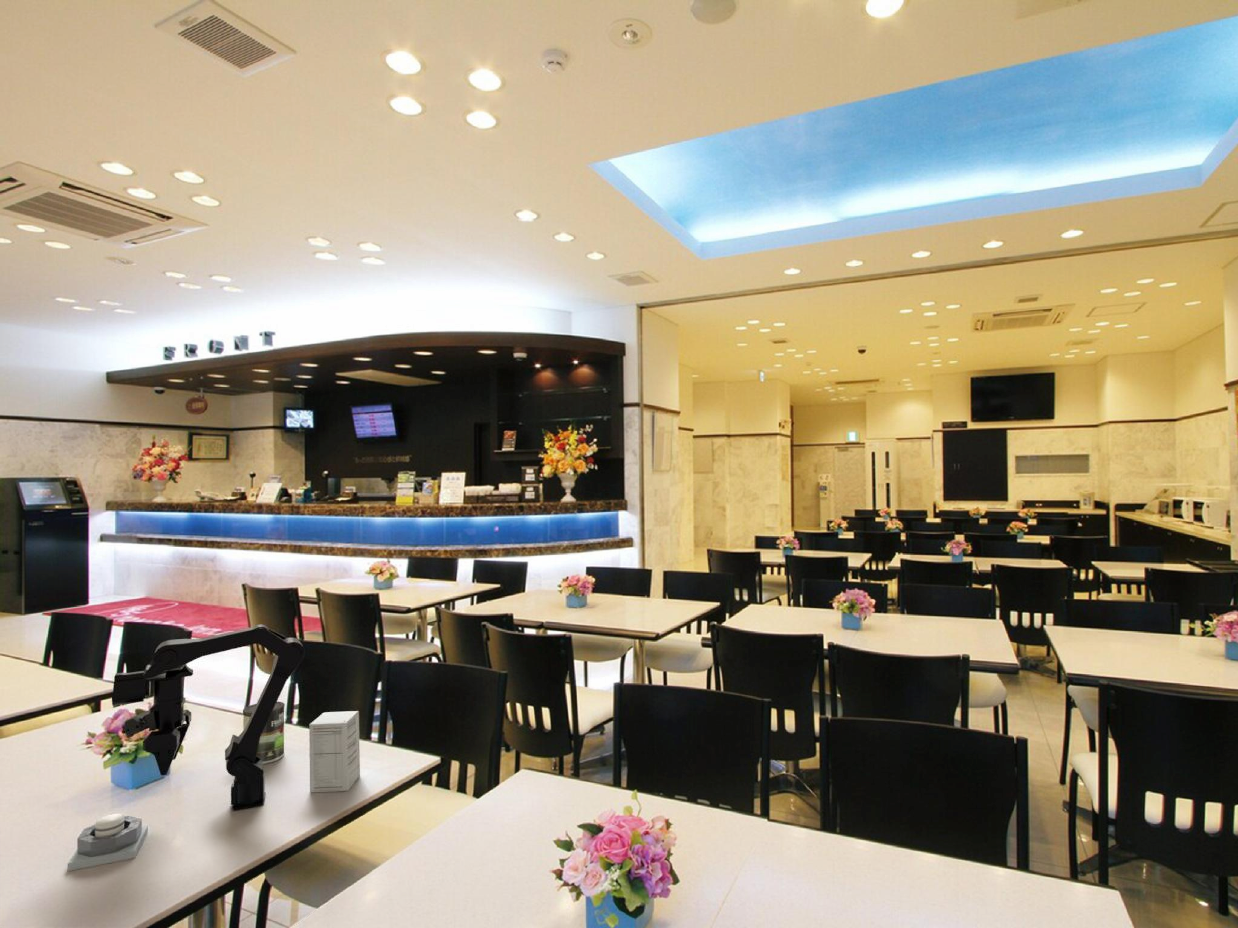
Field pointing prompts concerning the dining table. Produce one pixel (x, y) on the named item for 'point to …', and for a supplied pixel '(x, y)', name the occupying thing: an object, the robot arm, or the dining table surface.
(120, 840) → the steel ring
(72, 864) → the piston base
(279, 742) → the coffee can
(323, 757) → the supplement box
